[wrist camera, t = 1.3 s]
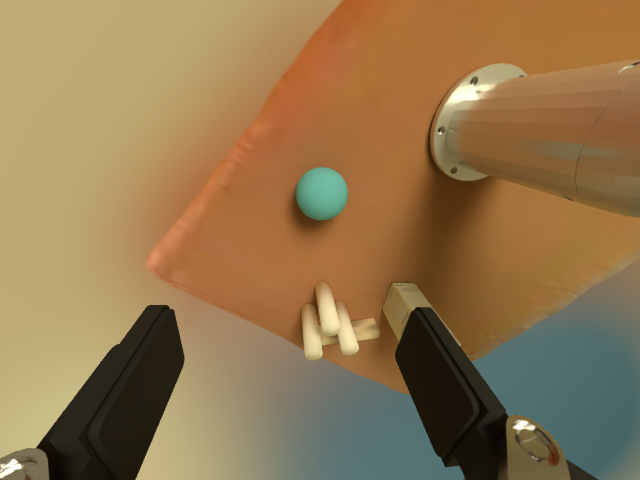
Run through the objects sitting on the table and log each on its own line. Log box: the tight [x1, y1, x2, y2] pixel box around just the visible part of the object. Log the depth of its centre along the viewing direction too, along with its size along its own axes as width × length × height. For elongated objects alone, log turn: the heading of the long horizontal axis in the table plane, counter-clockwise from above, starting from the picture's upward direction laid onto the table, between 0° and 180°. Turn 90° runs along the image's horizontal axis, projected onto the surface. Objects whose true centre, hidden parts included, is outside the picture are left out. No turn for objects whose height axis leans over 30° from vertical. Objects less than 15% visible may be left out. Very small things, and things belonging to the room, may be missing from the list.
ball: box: [296, 167, 348, 220], centre depth 28 cm, size 6×6×6 cm
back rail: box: [318, 318, 380, 346], centre depth 41 cm, size 12×2×3 cm, turn 92°
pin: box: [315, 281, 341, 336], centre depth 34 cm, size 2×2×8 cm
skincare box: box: [382, 283, 461, 346], centre depth 36 cm, size 6×4×12 cm
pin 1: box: [301, 304, 323, 361], centre depth 36 cm, size 2×2×8 cm
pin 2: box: [334, 300, 359, 355], centre depth 36 cm, size 2×2×8 cm
